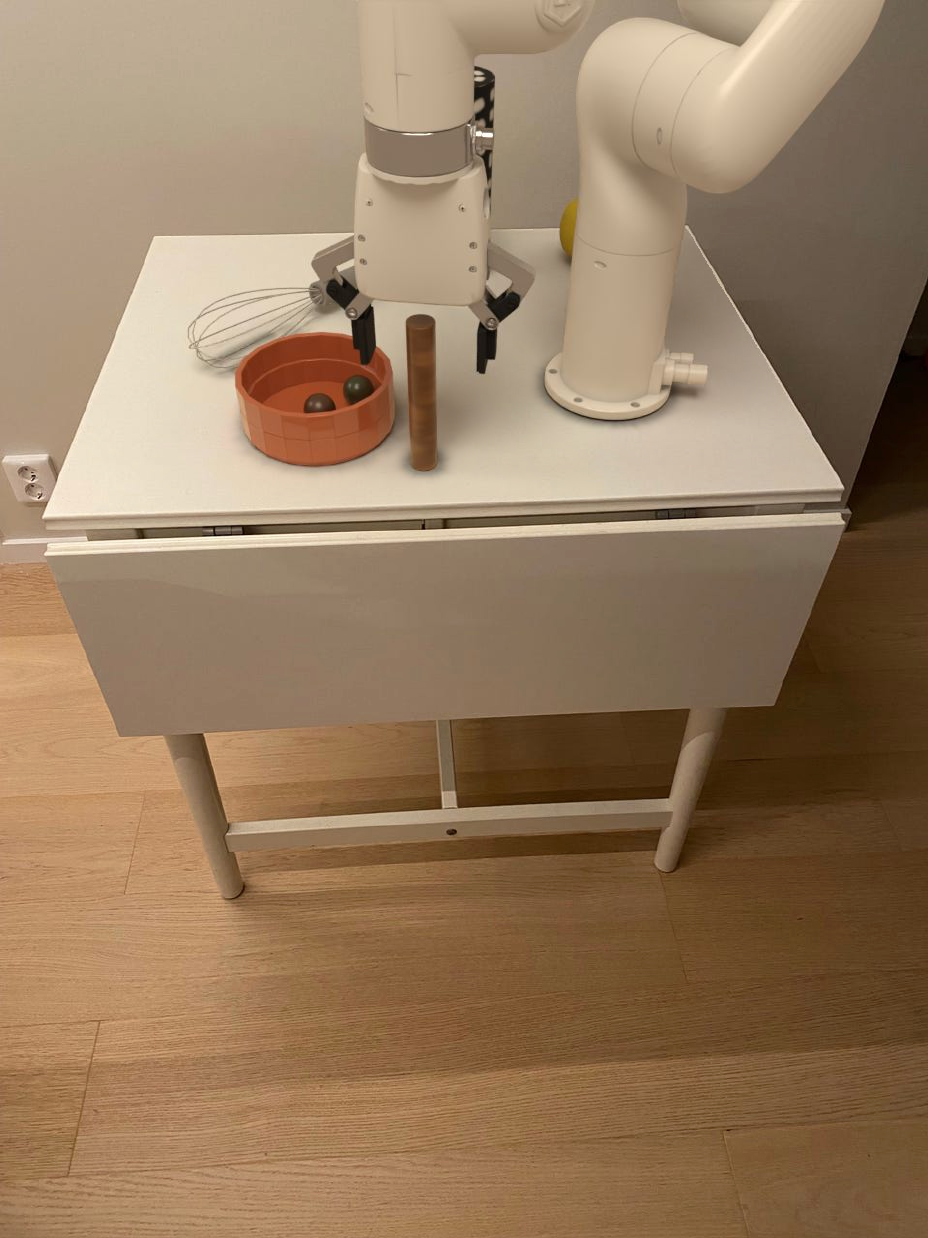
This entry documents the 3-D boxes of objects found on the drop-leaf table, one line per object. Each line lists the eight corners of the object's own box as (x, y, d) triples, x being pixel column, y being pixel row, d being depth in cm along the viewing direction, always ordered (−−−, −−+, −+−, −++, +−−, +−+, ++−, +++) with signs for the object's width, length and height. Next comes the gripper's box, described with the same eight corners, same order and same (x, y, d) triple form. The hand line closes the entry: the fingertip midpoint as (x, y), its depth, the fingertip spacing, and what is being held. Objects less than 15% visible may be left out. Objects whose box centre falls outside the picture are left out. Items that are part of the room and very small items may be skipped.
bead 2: (363, 406, 90) (381, 383, 89) (360, 417, 88) (378, 394, 86) (338, 387, 89) (356, 364, 88) (334, 398, 87) (352, 374, 85)
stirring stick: (438, 456, 84) (437, 314, 74) (434, 472, 83) (432, 329, 73) (413, 453, 85) (408, 312, 74) (408, 469, 83) (403, 327, 73)
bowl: (406, 388, 92) (404, 338, 88) (378, 474, 82) (374, 423, 78) (268, 376, 93) (260, 326, 89) (224, 460, 84) (213, 408, 80)
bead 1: (313, 386, 86) (333, 410, 88) (292, 408, 86) (312, 432, 87) (326, 385, 84) (347, 410, 86) (305, 408, 83) (326, 433, 85)
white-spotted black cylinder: (497, 250, 113) (504, 68, 99) (477, 280, 108) (481, 92, 93) (433, 240, 115) (431, 60, 100) (410, 270, 110) (404, 83, 95)
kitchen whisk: (437, 268, 110) (436, 215, 105) (221, 391, 92) (209, 333, 87) (398, 253, 112) (396, 201, 108) (181, 370, 94) (167, 313, 90)
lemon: (550, 253, 113) (556, 186, 107) (593, 249, 114) (601, 182, 108) (564, 274, 109) (571, 206, 103) (608, 270, 110) (617, 202, 104)
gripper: (547, 129, 66) (532, 345, 78) (311, 117, 67) (334, 330, 80) (539, 170, 61) (525, 394, 73) (284, 155, 62) (313, 377, 75)
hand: (425, 360), depth 77 cm, fingers open, 9 cm apart
